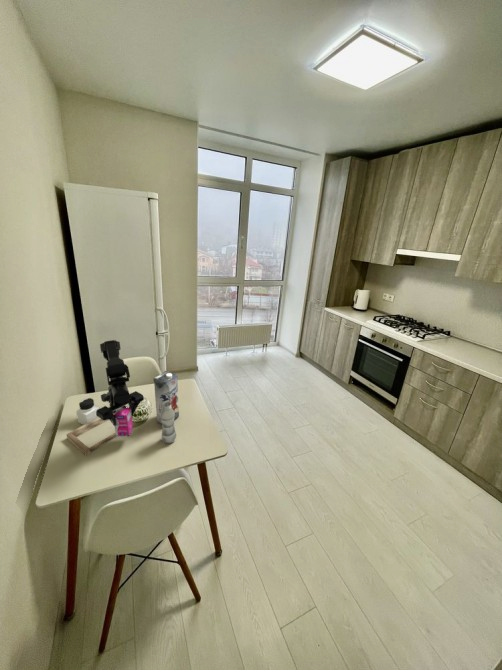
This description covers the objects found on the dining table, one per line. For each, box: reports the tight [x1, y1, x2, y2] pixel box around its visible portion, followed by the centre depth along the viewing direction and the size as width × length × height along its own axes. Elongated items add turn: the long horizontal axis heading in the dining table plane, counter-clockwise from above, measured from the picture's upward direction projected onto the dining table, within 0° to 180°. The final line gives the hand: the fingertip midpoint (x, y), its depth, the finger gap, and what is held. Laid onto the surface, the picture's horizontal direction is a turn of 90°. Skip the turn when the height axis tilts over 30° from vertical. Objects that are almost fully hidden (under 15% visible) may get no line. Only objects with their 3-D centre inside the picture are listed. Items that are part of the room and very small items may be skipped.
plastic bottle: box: [160, 402, 177, 444], centre depth 120 cm, size 6×7×20 cm
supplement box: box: [113, 407, 134, 437], centre depth 117 cm, size 6×6×12 cm
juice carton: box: [153, 370, 180, 424], centre depth 132 cm, size 9×10×27 cm
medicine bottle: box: [76, 397, 100, 426], centre depth 130 cm, size 7×7×12 cm
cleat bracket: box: [66, 418, 118, 456], centre depth 123 cm, size 18×16×3 cm
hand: (123, 420), depth 117 cm, fingers closed on supplement box, 8 cm apart
